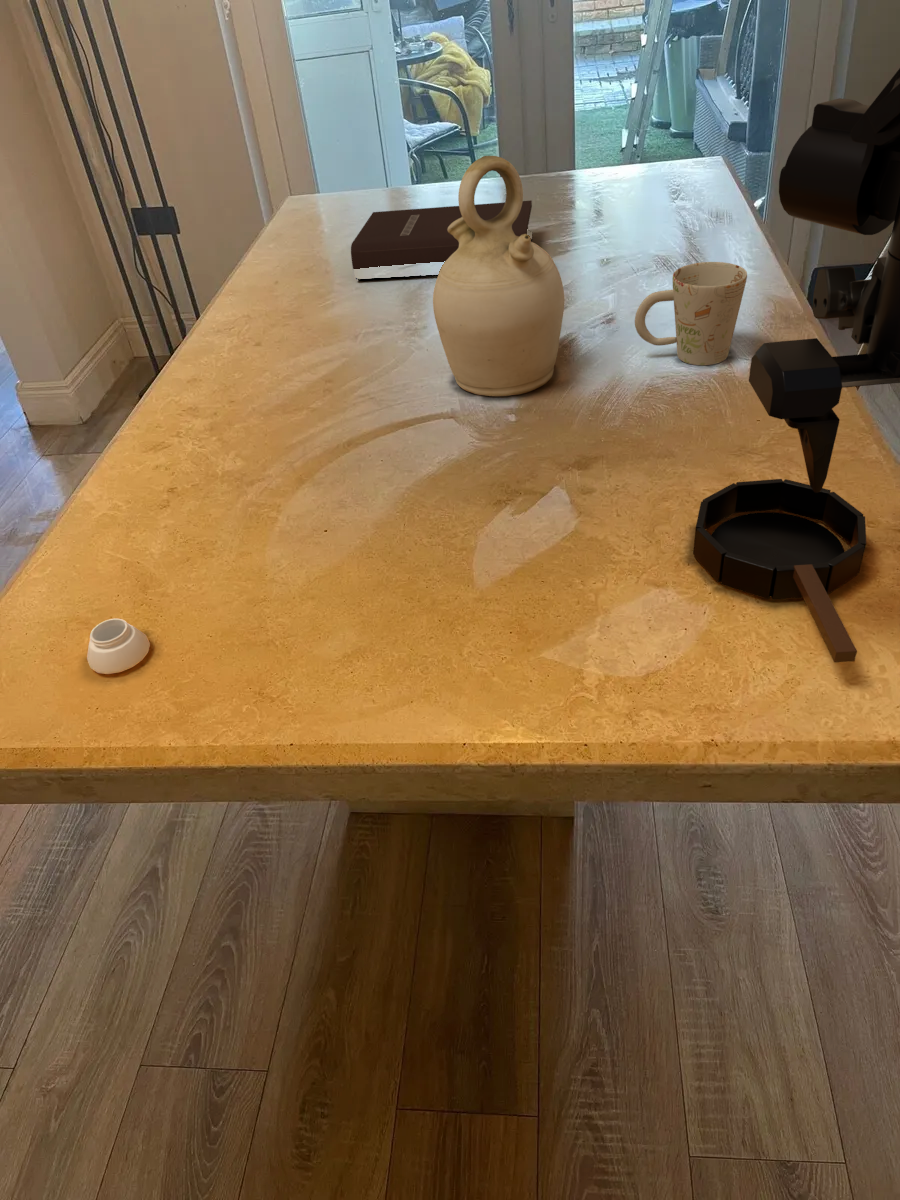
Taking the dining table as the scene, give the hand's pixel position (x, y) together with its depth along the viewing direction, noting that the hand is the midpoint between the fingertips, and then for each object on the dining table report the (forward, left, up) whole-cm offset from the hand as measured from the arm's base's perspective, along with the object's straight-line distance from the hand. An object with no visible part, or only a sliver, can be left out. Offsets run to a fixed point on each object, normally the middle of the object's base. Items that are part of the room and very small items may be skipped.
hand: (883, 484), depth 58 cm
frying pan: (+2, -5, -12) cm, 13 cm away
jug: (+12, -54, -12) cm, 57 cm away
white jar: (+57, -16, -12) cm, 60 cm away
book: (+7, -103, -12) cm, 104 cm away
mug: (-10, -49, -12) cm, 52 cm away
